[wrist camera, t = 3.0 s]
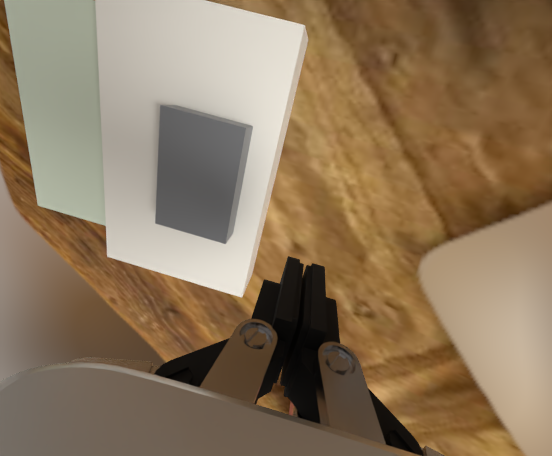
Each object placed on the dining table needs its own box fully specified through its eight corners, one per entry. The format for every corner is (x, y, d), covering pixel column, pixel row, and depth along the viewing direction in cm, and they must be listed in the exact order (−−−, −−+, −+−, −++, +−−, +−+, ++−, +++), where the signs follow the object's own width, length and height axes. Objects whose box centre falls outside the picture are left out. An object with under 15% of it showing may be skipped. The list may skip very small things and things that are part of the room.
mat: (7, -21, 22) (0, -24, 21) (127, 10, 21) (123, 7, 21) (42, 204, 30) (37, 205, 30) (128, 229, 30) (125, 231, 30)
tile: (175, 104, 20) (160, 104, 18) (253, 126, 20) (245, 127, 18) (168, 214, 24) (155, 223, 22) (233, 233, 23) (225, 244, 22)
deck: (133, -5, 21) (93, -28, 17) (308, 39, 20) (304, 25, 17) (133, 238, 30) (107, 256, 27) (251, 274, 30) (241, 297, 26)
